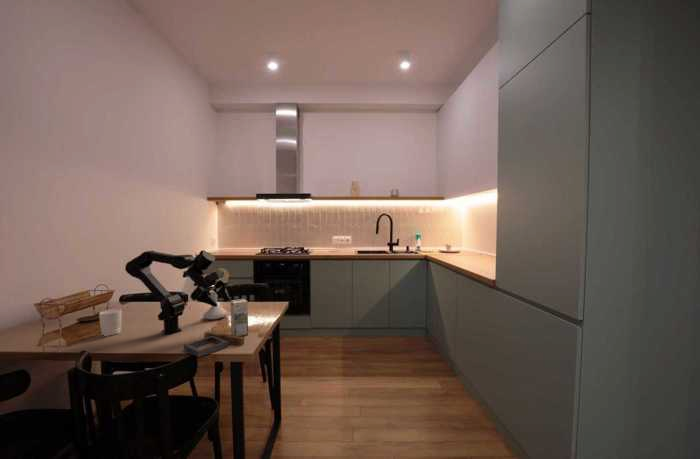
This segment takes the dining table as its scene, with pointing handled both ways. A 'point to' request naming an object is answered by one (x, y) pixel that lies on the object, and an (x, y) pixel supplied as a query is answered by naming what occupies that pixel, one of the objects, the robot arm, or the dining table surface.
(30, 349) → the dining table surface
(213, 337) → the keeper frame
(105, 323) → the white cup
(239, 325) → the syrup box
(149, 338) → the dining table surface
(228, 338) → the walnut rail
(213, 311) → the flower in vase
